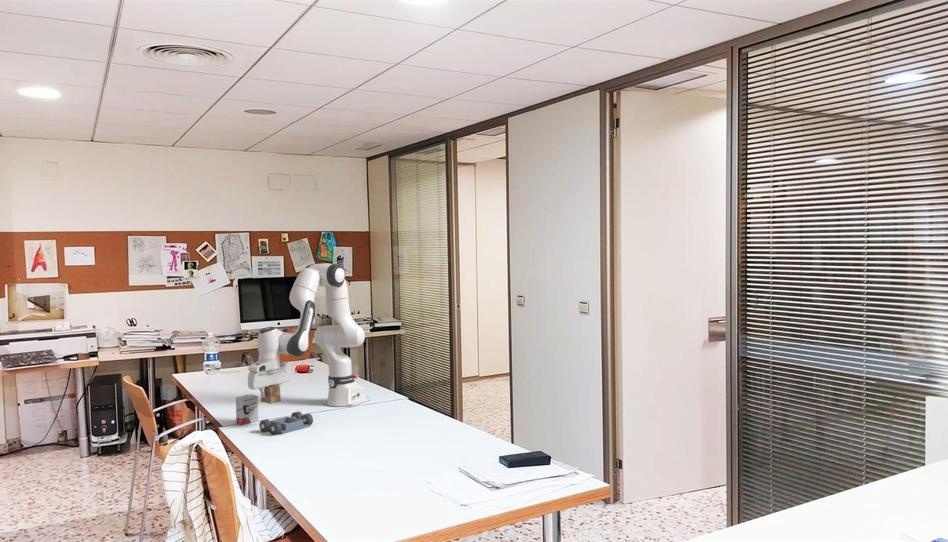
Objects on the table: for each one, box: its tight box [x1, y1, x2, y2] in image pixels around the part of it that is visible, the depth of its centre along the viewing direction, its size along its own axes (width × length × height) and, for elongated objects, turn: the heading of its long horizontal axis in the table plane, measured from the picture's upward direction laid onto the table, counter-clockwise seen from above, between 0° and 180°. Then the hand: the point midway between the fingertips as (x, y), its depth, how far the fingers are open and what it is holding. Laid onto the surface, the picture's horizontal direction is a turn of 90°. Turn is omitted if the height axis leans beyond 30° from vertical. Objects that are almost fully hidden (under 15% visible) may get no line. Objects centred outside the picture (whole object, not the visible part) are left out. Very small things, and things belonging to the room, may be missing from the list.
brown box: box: [260, 384, 282, 405], centre depth 298 cm, size 5×7×8 cm
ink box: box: [235, 393, 259, 426], centre depth 303 cm, size 9×5×12 cm, turn 143°
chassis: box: [259, 410, 314, 436], centre depth 291 cm, size 19×12×5 cm, turn 143°
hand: (270, 395), depth 298 cm, fingers closed on brown box, 5 cm apart
